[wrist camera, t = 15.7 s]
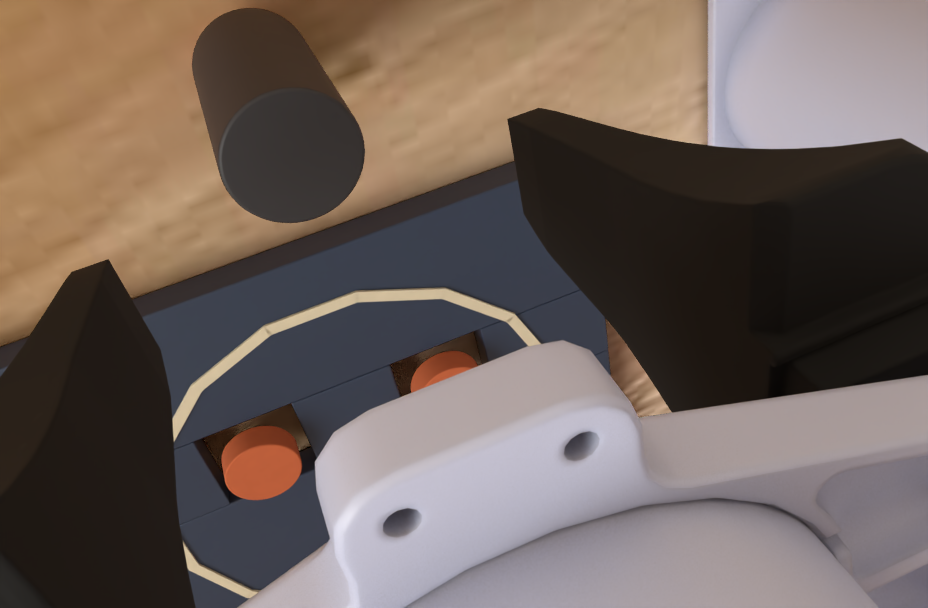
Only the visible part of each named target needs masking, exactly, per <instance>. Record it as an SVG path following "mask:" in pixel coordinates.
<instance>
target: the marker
mask: <svg viewBox="0 0 928 608" xmlns="http://www.w3.org/2000/svg"><path fill="white" fill-rule="evenodd" d="M192 70H193V76H194V80H195V84H196V88H197V92H198V95H199V99H200V103H201V106H202V110H203V114H204V118H205V121H206V125H207V129H208V132H209V136H210V140H211V144H212V147H213V151H214V155H215V158H216V162H217V166H218V170H219V173H220V176H221V179H222V182H223V184H224V186H225V188H226V190H227V191H228V193H229V194H230V195H231V197H232V198H233V199H234V200H235V201H236V202H237V203H238V204H239V205H240V206H241V207H243V208H244V209H245V210H247V211H249V212H250V213H252V214H254V215H256V216H258V217H260V218H263V219H266V220H270V221H274V222H280V223H297V222H303V221H308V220H312V219H315V218H318V217H320V216H322V215H324V214H326V213H328V212H330V211H331V210H333V209H334V208H336V207H337V206H338V205H340V204H341V203H342V202H343V201H344V200H345V199H346V198H347V197H348V195H349V194H350V193H351V192H352V190H353V189H354V187H355V185H356V184H357V181H358V179H359V177H360V175H361V172H362V169H363V164H364V156H365V148H364V140H363V136H362V132H361V130H360V127H359V125H358V123H357V121H356V119H355V118H354V116H353V114H352V113H351V111H350V110H349V108H348V107H347V105H346V104H345V102H344V100H343V99H342V97H341V96H340V94H339V93H338V91H337V90H336V88H335V86H334V85H333V83H332V82H331V80H330V79H329V77H328V76H327V74H326V72H325V71H324V69H323V68H322V66H321V65H320V63H319V62H318V60H317V58H316V57H315V55H314V54H313V52H312V51H311V49H310V48H309V46H308V44H307V43H306V41H305V40H304V38H303V37H302V35H301V34H300V33H299V31H298V30H297V29H296V28H295V27H294V26H293V25H292V24H291V23H290V22H289V21H287V20H286V19H285V18H283V17H281V16H280V15H278V14H275V13H273V12H270V11H267V10H263V9H257V8H244V9H237V10H233V11H230V12H228V13H225V14H223V15H221V16H220V17H218V18H216V19H215V20H214V21H212V22H211V23H210V24H209V25H208V26H207V27H206V28H205V29H204V31H203V32H202V33H201V35H200V37H199V39H198V40H197V43H196V45H195V48H194V52H193V59H192Z"/></svg>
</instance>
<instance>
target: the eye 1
mask: <svg viewBox="0 0 928 608" xmlns="http://www.w3.org/2000/svg"><path fill="white" fill-rule="evenodd" d="M222 467H223V473H224V479H225V483H226V486H227V487H228V489H229V490H230V491H231V492H232V493H233V494H235V495H236V496H238V497H240V498H243V499H248V500H263V499H268V498H272V497H275V496H277V495H279V494H281V493H283V492H285V491H286V490H288V489H289V488H290V487H291V486H293V484H294V483H295V482H296V481H297V479H298V478H299V476H300V473H301V470H302V461H301V457H300V454H299V450H298V446H297V443H296V440H295V439H294V437H293V436H292V435H291V434H290V433H289V432H288V431H286V430H284V429H282V428H279V427H275V426H258V427H253V428H250V429H247V430H245V431H242V432H241V433H239V434H237V435H236V436H235V437H233V438H232V439H231V440H230V441H229V442H228V444H227V445H226V447H225V448H224V451H223V453H222Z"/></svg>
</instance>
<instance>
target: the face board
mask: <svg viewBox="0 0 928 608" xmlns="http://www.w3.org/2000/svg"><path fill="white" fill-rule="evenodd" d="M132 301H133V303H134V304H135V306H136V308H137V310H138V311H139V313H140V315H141V316H142V318H143V320H144V322H145V323H146V325H147V327H148V329H149V330H150V332H151V334H152V335H153V337H154V339H155V341H156V342H157V344H158V346H159V347H160V349H161V353H162V358H163V362H164V366H165V371H166V375H167V380H168V385H169V390H170V394H171V405H172V420H173V437H174V456H175V475H176V494H177V507H178V516H179V524H180V530H181V535H182V540H183V546H184V551H185V557H186V562H187V568H188V573H189V578H190V582H191V587H192V592H193V597H194V602H195V607H196V608H237V607H239V606H240V605H241V604H243V603H244V602H246V601H247V600H248V599H250V598H251V597H253V596H254V595H255V594H257V593H258V592H259V591H261V590H262V589H264V588H265V587H266V586H268V585H269V584H270V583H272V582H273V581H275V580H276V579H277V578H279V577H280V576H281V575H283V574H284V573H286V572H287V571H288V570H290V569H291V568H292V567H294V566H295V565H297V564H298V563H299V562H301V561H302V560H303V559H305V558H306V557H308V556H309V555H310V554H312V553H313V552H314V551H316V550H317V549H319V548H320V547H321V546H323V545H324V544H325V543H327V542H328V541H329V539H330V536H329V533H328V529H327V526H326V522H325V519H324V515H323V512H322V508H321V505H320V501H319V498H318V494H317V490H316V475H315V461H316V459H317V458H318V456H319V455H320V453H321V451H322V450H323V448H324V447H325V445H326V444H327V442H328V440H329V439H330V437H331V436H332V434H333V433H334V432H335V431H336V430H338V429H340V428H341V427H343V426H344V425H346V424H347V423H349V422H350V421H352V420H354V419H355V418H357V417H358V416H360V415H361V414H363V413H365V412H366V411H368V410H370V409H372V408H375V407H377V406H380V405H382V404H385V403H387V402H390V401H392V400H395V399H397V398H400V397H401V395H400V392H399V389H398V387H397V384H396V381H395V378H394V375H393V372H392V369H391V366H390V364H392V363H394V362H397V361H399V360H402V359H405V358H407V357H410V356H412V355H415V354H417V353H420V352H422V351H425V350H427V349H430V348H432V347H435V346H438V345H440V344H443V343H445V342H448V341H450V340H453V339H455V338H458V337H460V336H463V335H465V334H468V333H471V332H473V331H474V334H475V338H476V342H477V346H478V350H479V354H480V358H481V363H482V364H485V363H487V362H490V361H492V360H495V359H497V358H500V357H502V356H505V355H507V354H510V353H512V352H515V351H517V350H520V349H522V348H525V347H527V346H533V345H539V344H544V343H550V342H555V341H561V340H564V341H566V342H569V343H572V344H575V345H577V346H580V347H583V348H586V349H589V350H590V351H591V352H592V353H593V354H594V356H595V357H596V358H597V360H598V361H599V362H600V363H601V365H602V366H603V367H604V369H605V370H606V371H607V372H608V374H609V375H610V376H611V372H610V362H609V353H608V341H607V331H606V322H605V317H604V316H603V315H602V314H601V312H600V311H599V310H598V309H597V308H596V307H595V306H594V305H593V303H592V302H591V301H590V300H589V299H588V298H587V297H586V296H585V294H584V293H583V292H582V291H581V290H580V289H579V288H578V287H577V285H576V284H575V283H574V282H573V281H572V280H571V279H570V277H569V276H568V275H567V274H566V273H565V272H564V271H563V269H562V268H561V267H560V266H559V265H558V264H557V263H556V261H555V260H554V259H553V258H552V257H551V255H550V254H549V253H548V252H547V250H546V249H545V247H544V246H543V244H542V243H541V241H540V240H539V238H538V237H537V235H536V233H535V232H534V230H533V229H532V227H531V225H530V224H529V222H528V220H527V219H526V217H525V215H524V213H523V207H522V201H521V195H520V189H519V183H518V178H517V172H516V166H515V161H514V162H511V163H509V164H506V165H503V166H500V167H498V168H495V169H492V170H489V171H487V172H484V173H481V174H478V175H476V176H473V177H470V178H467V179H464V180H462V181H459V182H456V183H453V184H451V185H448V186H445V187H442V188H440V189H437V190H434V191H431V192H428V193H426V194H423V195H420V196H417V197H415V198H412V199H409V200H406V201H404V202H401V203H398V204H395V205H392V206H390V207H387V208H384V209H381V210H379V211H376V212H373V213H370V214H368V215H365V216H362V217H359V218H357V219H354V220H351V221H348V222H345V223H343V224H340V225H337V226H334V227H332V228H329V229H326V230H323V231H321V232H318V233H315V234H312V235H309V236H307V237H304V238H301V239H298V240H296V241H293V242H290V243H287V244H285V245H282V246H279V247H276V248H274V249H271V250H268V251H265V252H262V253H260V254H257V255H254V256H251V257H249V258H246V259H243V260H240V261H238V262H235V263H232V264H229V265H226V266H224V267H221V268H218V269H215V270H213V271H210V272H207V273H204V274H202V275H199V276H196V277H193V278H190V279H188V280H185V281H182V282H179V283H177V284H174V285H171V286H168V287H166V288H163V289H160V290H157V291H155V292H152V293H149V294H146V295H143V296H141V297H138V298H135V299H132ZM28 338H29V337H27V338H24V339H22V340H19V341H16V342H13V343H11V344H8V345H5V346H2V347H0V377H1V375H2V374H3V373H4V371H5V370H6V369H7V367H8V366H9V364H10V363H11V362H12V360H13V359H14V358H15V356H16V355H17V354H18V352H19V351H20V349H21V348H22V347H23V345H24V344H25V342H26V341H27V339H28ZM290 403H291V404H292V406H293V408H294V411H295V413H296V415H297V417H298V419H299V421H300V423H301V426H302V428H303V430H304V432H305V434H306V436H307V438H308V441H309V443H310V445H311V448H308V449H306V450H303V451H301V452H299V454H300V457H301V461H302V470H301V473H300V476H299V478H298V479H297V481H296V482H295V483H294V484H293V486H291V487H290V488H289V489H288V490H286V491H285V492H283V493H281V494H279V495H277V496H275V497H272V498H268V499H263V500H248V499H243V498H240V497H238V496H236V495H235V494H233V493H232V492H231V491H230V490H229V489H228V487H227V486H226V483H225V479H224V475H223V474H222V472H221V470H220V469H219V467H218V465H217V463H216V462H215V460H214V458H213V457H212V455H211V453H210V452H209V450H208V448H207V447H206V445H205V443H204V441H203V440H202V438H204V437H207V436H209V435H212V434H214V433H217V432H219V431H222V430H224V429H227V428H229V427H232V426H234V425H237V424H240V423H242V422H245V421H247V420H250V419H252V418H255V417H257V416H260V415H262V414H265V413H267V412H270V411H273V410H275V409H278V408H280V407H283V406H285V405H288V404H290Z"/></svg>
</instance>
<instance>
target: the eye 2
mask: <svg viewBox="0 0 928 608" xmlns="http://www.w3.org/2000/svg"><path fill="white" fill-rule="evenodd" d="M477 366H478V365H477V363H476V361H475V360H474V359H473V358H472V357H471V356H470V355H468V354H466V353H464V352H460V351H446V352H442V353H439V354H436V355H434V356H432V357H430V358H429V359H427V360H426V361H425V362H423V363H422V364H421V365H420V366H419V367H418V369H417V370H416V372H415V373H414V375H413V378H412V381H411V393H412V392H415V391H417V390H420V389H422V388H425V387H427V386H430V385H432V384H435V383H437V382H440V381H442V380H445V379H447V378H450V377H452V376H455V375H457V374H460V373H462V372H465V371H467V370H470V369H472V368H475V367H477Z"/></svg>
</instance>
